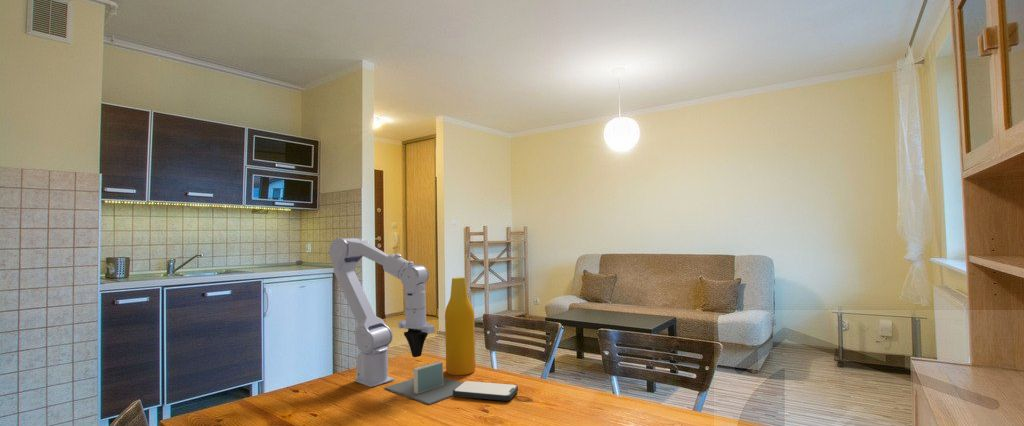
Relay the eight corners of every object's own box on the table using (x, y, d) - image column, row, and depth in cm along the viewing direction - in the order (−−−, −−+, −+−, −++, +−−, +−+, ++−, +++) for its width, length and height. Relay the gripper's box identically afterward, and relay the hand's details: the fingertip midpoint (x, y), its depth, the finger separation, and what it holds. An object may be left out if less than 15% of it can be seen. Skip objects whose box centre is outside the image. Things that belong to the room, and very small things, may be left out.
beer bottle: (470, 365, 149) (468, 275, 150) (479, 373, 141) (477, 278, 142) (442, 369, 145) (440, 277, 147) (450, 377, 137) (448, 280, 138)
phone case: (451, 397, 120) (509, 402, 115) (450, 391, 120) (509, 396, 115) (464, 386, 128) (519, 390, 123) (464, 380, 128) (519, 384, 123)
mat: (384, 388, 128) (384, 387, 128) (430, 374, 140) (430, 373, 140) (429, 405, 115) (429, 403, 115) (475, 387, 127) (475, 386, 127)
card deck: (414, 392, 123) (413, 368, 124) (439, 383, 130) (439, 361, 130) (417, 393, 122) (417, 369, 123) (443, 385, 129) (443, 361, 129)
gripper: (389, 307, 133) (390, 355, 132) (419, 312, 123) (420, 363, 123) (409, 304, 138) (410, 350, 137) (440, 308, 128) (441, 357, 128)
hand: (416, 356), depth 130 cm, fingers closed
